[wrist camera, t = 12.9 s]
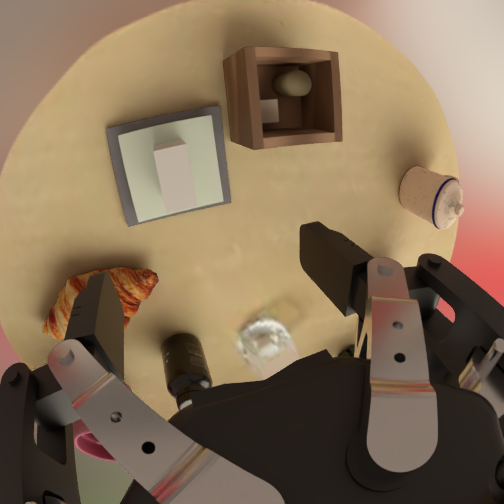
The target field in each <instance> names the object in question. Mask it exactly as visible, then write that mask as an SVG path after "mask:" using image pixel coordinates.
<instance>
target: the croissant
mask: <svg viewBox="0 0 504 504" xmlns="http://www.w3.org/2000/svg"><path fill="white" fill-rule="evenodd" d="M104 271H107V272H108V273H109V274H110V277H111V279H112V281H113V284H114V286H115V289H116V291H117V294H118V296H119V298H120V301H121V303H122V306H123V310H124V329H125V328H126V326H127V325H128V323H129V321H130V318H131V317H132V316H133V315H134V314H135V313H136V312H137V311H138V308H139V305H140V302H141V301H142V300H144V299H146V298H147V297H148V296H149V295H150V294H151V292H152V289H153V288H154V287H155V285H156V283H157V282H158V281H159V280H158V276H157V274H156V273H154V272H153V271H152V270H148V269H147V268H146V269H141V270H139V269H137V270H132V269H129V268H125V267H116V268H112V269H108V270H106V269H104V270H94V271H92V272H89V273H86V274H82V275H77V276H76V277H72V278H69V279H68V280H67V282H66V286H65V287H63V288H62V289H61V290H60V292H59V297H58V300H57V302H56V304H55V305H54V306H53V307H52V308H51V310H50V313H49V316H48V317H47V319H46V321H45V322H44V324H43V334H49V335H50V336H51V337H53V338H55V339H57V340H61V339H63V338H65V334H66V330H67V326H68V322H69V318H70V314H71V310H72V307H73V303H74V300H75V298H76V297H77V295H78V294H79V293H80V291H81V290H84V289H86V286H87V282H88V279H89V276H90V275H93V274H97V273H100V272H104Z"/></svg>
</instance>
